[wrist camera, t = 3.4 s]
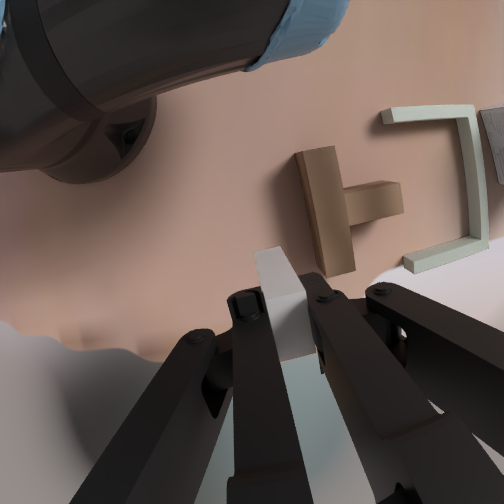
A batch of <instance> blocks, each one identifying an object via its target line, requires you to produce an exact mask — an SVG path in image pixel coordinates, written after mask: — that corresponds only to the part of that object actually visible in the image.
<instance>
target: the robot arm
mask: <svg viewBox="0 0 504 504" xmlns="http://www.w3.org/2000/svg"><path fill="white" fill-rule="evenodd" d="M349 1H350V0H0V173H1V172H11V171H21V170H32V169H39V170H41V171H43V172H44V173H46V174H47V175H49V176H50V177H52V178H54V179H55V180H58V181H61V182H64V183H69V184H85V183H92V182H98V181H101V180H104V179H107V178H109V177H111V176H113V175H115V174H117V173H118V172H120V171H121V170H122V169H124V168H125V167H126V166H127V165H128V164H130V163H131V162H132V161H133V160H134V158H135V157H136V156H137V155H138V154H139V152H140V151H141V149H142V148H143V146H144V145H145V143H146V141H147V139H148V137H149V135H150V133H151V130H152V127H153V124H154V121H155V116H156V108H157V97H156V95H158V94H161V93H164V92H167V91H170V90H173V89H176V88H179V87H182V86H186V85H189V84H192V83H196V82H199V81H203V80H206V79H210V78H214V77H217V76H221V75H225V74H229V73H233V72H238V71H243V72H250V71H253V70H256V69H258V68H259V67H261V66H262V65H263V64H267V63H271V62H275V61H279V60H283V59H288V58H293V57H297V56H302V55H305V54H308V53H311V52H312V51H314V50H316V49H318V48H319V47H321V46H322V45H323V44H324V43H325V42H326V40H327V39H328V38H329V36H330V35H331V34H332V33H334V32H335V31H336V29H337V28H338V26H339V25H340V23H341V21H342V19H343V17H344V15H345V12H346V10H347V7H348V4H349ZM253 254H254V258H255V263H256V267H257V272H258V276H259V281H260V285H261V286H259V287H255V288H250V289H245V290H241V291H238V292H236V293H234V294H232V295H231V296H229V297H228V299H227V304H228V307H229V310H230V314H231V317H232V321H233V327H232V328H231V329H230V330H228V331H226V332H224V333H222V334H220V335H217V336H215V333H214V332H213V331H212V330H210V329H195V330H193V331H190V332H188V333H187V334H185V335H184V336H183V337H182V338H181V339H180V340H179V341H178V343H177V344H176V346H175V347H174V348H173V350H172V351H171V353H170V354H169V356H168V357H167V359H166V360H165V362H164V363H163V365H162V366H161V368H160V369H159V370H158V372H157V373H156V375H155V376H154V378H153V379H152V381H151V382H150V384H149V385H148V387H147V388H146V389H145V391H144V392H143V394H142V395H141V397H140V398H139V400H138V402H137V403H136V404H135V406H134V407H133V409H132V410H131V412H130V413H129V415H128V416H127V418H126V419H125V421H124V422H123V424H122V425H121V427H120V428H119V430H118V431H117V433H116V434H115V435H114V437H113V438H112V440H111V442H110V443H109V444H108V446H107V447H106V449H105V450H104V452H103V453H102V455H101V456H100V458H99V459H98V461H97V462H96V464H95V465H94V467H93V468H92V470H91V471H90V473H89V474H88V476H87V477H86V479H85V481H84V482H83V483H82V485H81V486H80V488H79V490H78V491H77V492H76V494H75V495H74V497H73V498H72V500H71V502H70V503H69V504H194V501H195V499H196V496H197V493H198V491H199V488H200V485H201V483H202V480H203V477H204V475H205V472H206V469H207V466H208V463H209V461H210V458H211V455H212V453H213V450H214V447H215V444H216V441H217V439H218V436H219V433H220V430H221V427H222V425H223V422H224V419H225V416H226V413H227V410H228V408H229V404H230V402H231V399H232V396H233V420H234V422H233V423H234V468H235V472H234V476H233V477H229V479H228V481H227V504H314V503H313V499H312V494H311V490H310V486H309V482H308V478H307V474H306V469H305V465H304V461H303V457H302V452H301V449H300V444H299V440H298V435H297V431H296V427H295V423H294V419H293V414H292V411H291V406H290V402H289V398H288V394H287V389H286V385H285V381H284V377H283V373H282V368H281V364H280V362H281V361H286V360H290V359H294V358H298V357H302V356H305V355H309V354H313V353H316V348H315V345H316V347H317V351H318V357H319V364H320V370H321V374H324V373H325V375H326V378H327V380H328V382H329V385H330V387H331V389H332V392H333V394H334V397H335V399H336V402H337V404H338V406H339V409H340V411H341V414H342V416H343V419H344V421H345V423H346V426H347V428H348V431H349V433H350V436H351V438H352V441H353V443H354V446H355V448H356V451H357V453H358V456H359V458H360V461H361V463H362V466H363V468H364V471H365V473H366V476H367V478H368V481H369V483H370V486H371V488H372V491H373V494H374V497H375V500H376V504H504V475H502V473H501V472H500V470H499V469H498V468H497V466H496V465H495V464H494V462H493V461H492V460H491V458H490V457H489V455H488V454H487V453H486V451H485V450H484V449H483V447H482V446H481V445H480V444H479V442H478V441H477V439H476V438H475V437H474V436H473V434H474V435H475V436H477V437H478V438H479V439H481V440H482V441H483V442H485V443H486V444H487V445H489V446H490V447H491V448H492V449H494V450H495V451H496V452H498V453H499V454H500V455H502V456H503V457H504V332H502V331H500V330H498V329H496V328H493V327H491V326H489V325H487V324H485V323H483V322H480V321H478V320H476V319H474V318H472V317H469V316H467V315H465V314H463V313H461V312H458V311H456V310H454V309H451V308H449V307H447V306H445V305H442V304H440V303H438V302H436V301H434V300H431V299H429V298H427V297H425V296H422V295H420V294H418V293H415V292H413V291H411V290H409V289H406V288H404V287H402V286H399V285H397V284H394V283H387V282H381V283H380V282H379V283H377V284H374V285H371V286H370V287H368V288H367V289H366V290H365V295H366V298H360V299H348V298H347V297H346V296H345V294H344V293H343V292H341V291H339V290H332V288H331V287H330V286H329V285H328V283H327V282H326V281H325V279H324V278H323V277H322V276H321V275H320V274H318V273H315V272H312V273H308V274H304V275H300V276H297V275H296V273H295V271H294V269H293V268H292V266H291V264H290V263H289V261H288V259H287V257H286V256H285V254H284V252H283V250H282V249H281V247H280V246H278V247H274V248H269V249H265V250H261V251H257V252H253ZM401 328H402V329H403V330H404V331H405V333H406V336H407V337H404V336H402V335H401ZM428 400H430V401H431V402H432V403H433V404H435V405H436V406H438V407H439V408H440V409H441V410H443V411H444V412H445V413H443V414H439V413H438V412H437V411H436V410H435V409H434V408H433V406H432V405H431V403H430V402H429V401H428ZM472 433H473V434H472Z"/></svg>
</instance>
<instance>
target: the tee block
mask: <svg viewBox="0 0 504 504" xmlns="http://www.w3.org/2000/svg"><path fill="white" fill-rule="evenodd" d="M295 158H296V162H297V166H298V171H299V176H300V180H301V185H302V190H303V194H304V199H305V204H306V209H307V214H308V219H309V224H310V229H311V235H312V240H313V245H314V251H315V256H316V262H317V266H318V267H319V269H320V270H321V271H322V273H323V274H324V275H325V276H326V278H330V277H334V276H338V275H341V274H345V273H349V272H353V271H356V268H355V260H354V252H353V245H352V238H351V232H350V226H351V225H355V224H360V223H364V222H368V221H372V220H377V219H381V218H385V217H389V216H394V215H398V214H402V213H404V208H403V201H402V193H401V186H400V183H397V182H390V181H378V182H373V183H367V184H362V185H357V186H352V187H347V188H343V185H342V180H341V175H340V170H339V165H338V160H337V155H336V151H335V146H329V147H323V148H317V149H312V150H307V151H302V152H298V153H295Z"/></svg>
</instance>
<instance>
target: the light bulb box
mask: <svg viewBox="0 0 504 504" xmlns="http://www.w3.org/2000/svg"><path fill="white" fill-rule="evenodd" d="M480 113H481V116H482V119H483V122H484V125H485V129H486V132H487V136H488V139H489V143H490V146H491V150H492V154H493V158H494V162H495V167H496V171H497V176H498V181H499V184H503V185H504V104H500V105H496V106H493V107H489V108H486V109H482V110H480Z"/></svg>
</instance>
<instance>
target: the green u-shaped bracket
mask: <svg viewBox="0 0 504 504" xmlns="http://www.w3.org/2000/svg"><path fill="white" fill-rule="evenodd" d="M381 116H382V120H383V124H394V123H403V122H414V121H426V120H441V119H456V122H457V127H458V132H459V137H460V143H461V149H462V155H463V162H464V170H465V178H466V187H467V198H468V211H469V232H470V235H469V236H466V237H463V238H460V239H457V240H453V241H450V242H447V243H444V244H441V245H437V246H434V247H431V248H427V249H424V250H421V251H417V252H414V253H410V254H407V255H404V256H403V260H404V268H405V269H407V270H409V271H410V272H412V273H413V274H417V273H420V272H423V271H426V270H429V269H432V268H435V267H438V266H441V265H444V264H447V263H450V262H453V261H456V260H458V259H461V258H464V257H467V256H470V255H472V254H475V253H478V252H481V251H483V250H486V249H489V221H488V201H487V188H486V177H485V168H484V160H483V153H482V146H481V140H480V134H479V129H478V123H477V118H476V114H475V109H474V105H428V106H410V107H396V108H389V109H386V110H383V111H381Z"/></svg>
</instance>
